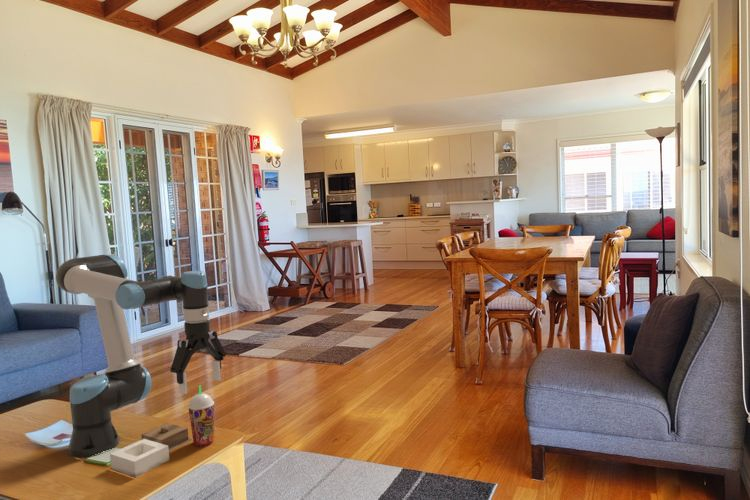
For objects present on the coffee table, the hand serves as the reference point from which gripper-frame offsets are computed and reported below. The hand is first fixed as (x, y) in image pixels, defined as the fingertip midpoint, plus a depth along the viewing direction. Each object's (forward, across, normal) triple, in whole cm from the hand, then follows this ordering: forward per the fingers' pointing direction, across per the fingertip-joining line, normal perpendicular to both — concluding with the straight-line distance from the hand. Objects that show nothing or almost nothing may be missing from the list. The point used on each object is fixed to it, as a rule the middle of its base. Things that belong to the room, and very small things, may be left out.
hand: (200, 386), depth 177 cm
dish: (+23, -14, +13) cm, 30 cm away
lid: (+22, 0, +19) cm, 29 cm away
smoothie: (+23, +6, +7) cm, 25 cm away
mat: (+23, 0, +19) cm, 30 cm away
